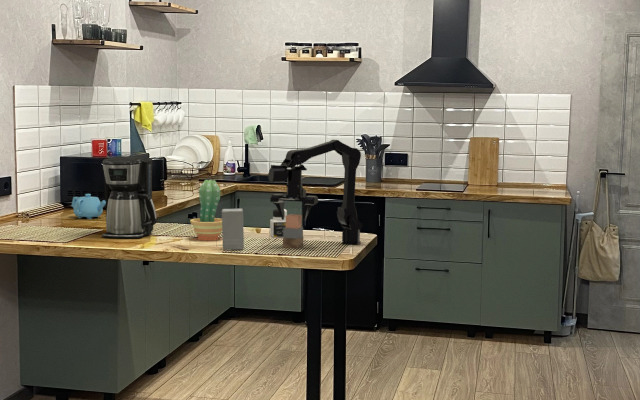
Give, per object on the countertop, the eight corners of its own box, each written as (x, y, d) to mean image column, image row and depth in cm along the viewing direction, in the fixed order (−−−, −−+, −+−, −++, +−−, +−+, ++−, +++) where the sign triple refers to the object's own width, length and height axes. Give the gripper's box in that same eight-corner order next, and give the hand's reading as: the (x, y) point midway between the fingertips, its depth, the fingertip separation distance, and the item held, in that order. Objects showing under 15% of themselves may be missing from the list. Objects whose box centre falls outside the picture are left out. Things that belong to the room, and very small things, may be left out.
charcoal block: (302, 236, 351) (303, 227, 351) (297, 238, 346) (297, 229, 345) (289, 235, 354) (289, 226, 353) (283, 237, 348) (283, 228, 348)
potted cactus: (234, 238, 369) (234, 179, 366) (209, 242, 356) (209, 182, 353) (206, 235, 377) (206, 177, 375) (181, 239, 365) (182, 179, 362)
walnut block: (303, 246, 352) (303, 236, 352) (298, 248, 346) (298, 239, 346) (288, 245, 354) (288, 235, 354) (282, 247, 348) (282, 238, 348)
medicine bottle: (273, 238, 372) (273, 210, 371) (269, 235, 379) (270, 208, 378) (289, 237, 374) (289, 209, 373) (285, 235, 381) (286, 208, 380)
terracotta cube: (301, 227, 351) (301, 214, 350) (297, 228, 346) (297, 216, 346) (289, 226, 352) (290, 214, 352) (285, 228, 348) (285, 215, 347)
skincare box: (244, 247, 346) (244, 208, 344) (243, 250, 339) (243, 210, 337) (222, 247, 346) (222, 207, 344) (221, 250, 339) (221, 209, 337)
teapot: (61, 218, 423) (61, 194, 421) (83, 214, 438) (82, 191, 437) (96, 221, 415) (95, 196, 414) (116, 217, 431) (116, 193, 429)
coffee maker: (102, 240, 358) (101, 158, 355) (98, 229, 389) (97, 154, 386) (157, 238, 365) (157, 158, 362) (149, 228, 396) (149, 154, 392)
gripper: (322, 181, 352) (322, 219, 354) (279, 179, 358) (279, 216, 360) (313, 183, 341) (313, 222, 343) (269, 181, 347) (269, 219, 349)
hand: (293, 220), depth 349 cm, fingers open, 9 cm apart
